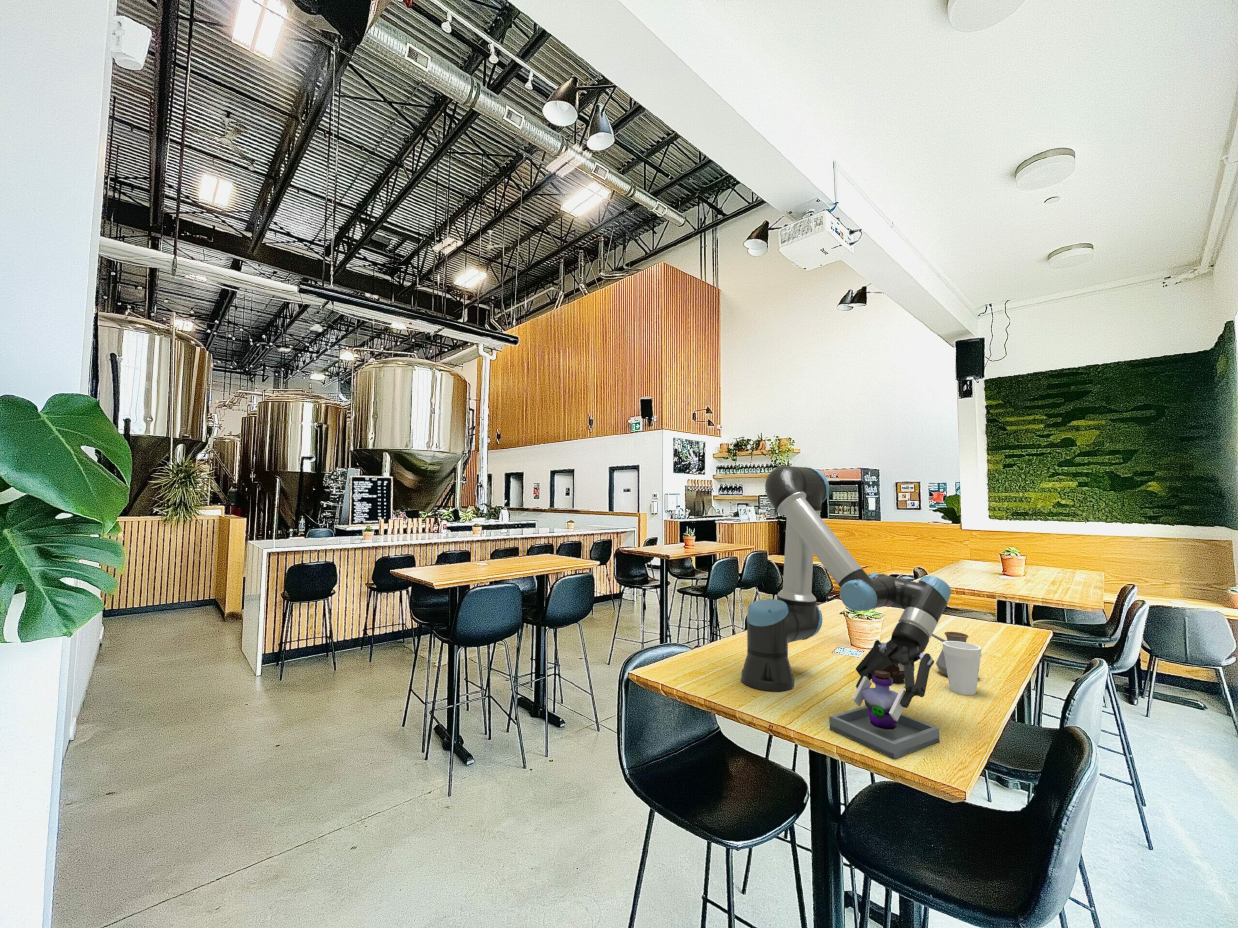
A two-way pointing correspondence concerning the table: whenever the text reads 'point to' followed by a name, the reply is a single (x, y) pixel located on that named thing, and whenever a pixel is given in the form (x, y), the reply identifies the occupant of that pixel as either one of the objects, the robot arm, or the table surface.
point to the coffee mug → (895, 672)
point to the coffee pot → (941, 659)
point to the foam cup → (962, 666)
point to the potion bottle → (880, 700)
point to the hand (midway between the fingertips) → (873, 709)
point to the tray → (885, 732)
